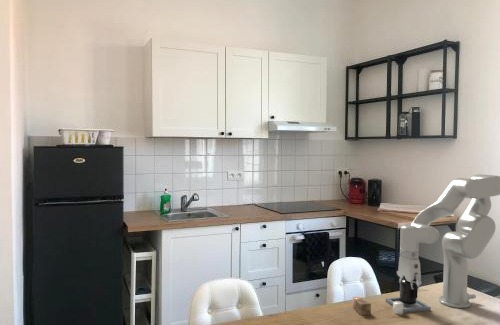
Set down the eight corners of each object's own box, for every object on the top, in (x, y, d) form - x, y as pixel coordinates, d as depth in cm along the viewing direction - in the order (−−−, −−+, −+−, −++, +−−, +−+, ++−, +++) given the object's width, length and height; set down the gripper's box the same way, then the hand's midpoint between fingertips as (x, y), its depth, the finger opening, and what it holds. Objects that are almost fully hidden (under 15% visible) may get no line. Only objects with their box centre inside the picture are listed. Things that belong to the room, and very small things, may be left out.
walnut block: (365, 310, 170) (365, 299, 170) (370, 314, 166) (370, 303, 166) (355, 311, 169) (355, 300, 169) (360, 315, 165) (360, 304, 165)
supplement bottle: (418, 305, 172) (418, 277, 171) (401, 304, 173) (401, 276, 173) (414, 299, 178) (415, 272, 178) (398, 298, 180) (399, 271, 179)
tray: (411, 299, 183) (411, 296, 183) (430, 310, 171) (430, 307, 171) (385, 301, 180) (385, 298, 180) (403, 312, 168) (403, 309, 168)
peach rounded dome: (359, 305, 175) (359, 296, 175) (364, 309, 171) (364, 299, 171) (351, 306, 174) (351, 297, 174) (355, 309, 170) (355, 300, 170)
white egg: (399, 310, 170) (399, 301, 170) (405, 314, 166) (405, 304, 166) (391, 311, 169) (391, 301, 169) (396, 314, 166) (396, 305, 165)
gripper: (429, 258, 168) (428, 301, 168) (404, 249, 184) (403, 287, 185) (414, 259, 166) (413, 302, 166) (389, 249, 183) (389, 289, 183)
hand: (408, 294), depth 176 cm, fingers closed on supplement bottle, 6 cm apart
